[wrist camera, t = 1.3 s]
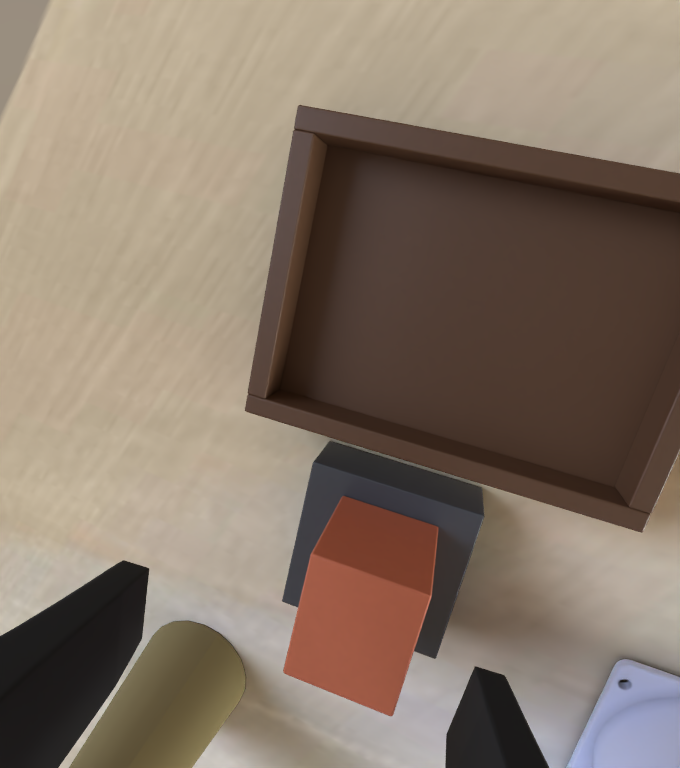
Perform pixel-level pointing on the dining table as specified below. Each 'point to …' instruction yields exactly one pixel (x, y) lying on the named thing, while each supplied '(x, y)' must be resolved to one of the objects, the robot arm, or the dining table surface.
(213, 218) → the dining table surface
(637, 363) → the tray
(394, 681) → the terracotta block
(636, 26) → the dining table surface
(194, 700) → the olive pawn
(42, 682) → the robot arm
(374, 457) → the base block
